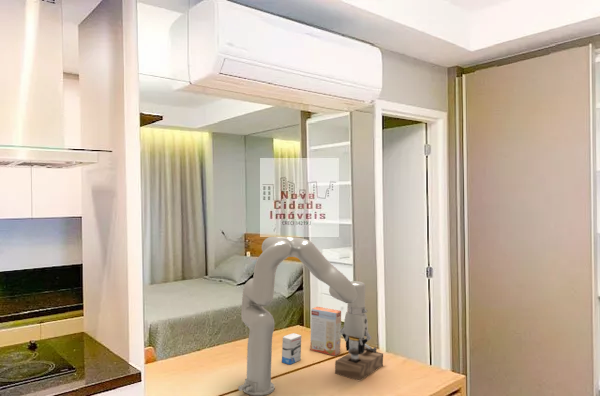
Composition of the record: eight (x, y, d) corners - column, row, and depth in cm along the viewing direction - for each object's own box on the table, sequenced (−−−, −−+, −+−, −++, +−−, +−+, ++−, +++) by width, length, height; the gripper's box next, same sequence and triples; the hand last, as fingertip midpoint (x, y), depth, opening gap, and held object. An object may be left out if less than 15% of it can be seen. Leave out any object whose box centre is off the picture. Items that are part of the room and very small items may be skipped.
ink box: (289, 365, 206) (290, 339, 206) (281, 362, 209) (282, 336, 209) (301, 360, 213) (301, 334, 212) (292, 357, 216) (293, 332, 215)
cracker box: (340, 352, 224) (342, 310, 223) (334, 356, 218) (336, 312, 218) (315, 347, 231) (317, 305, 231) (309, 350, 226) (311, 308, 226)
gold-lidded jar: (363, 363, 200) (364, 337, 200) (357, 367, 195) (357, 340, 195) (352, 360, 203) (352, 334, 203) (345, 364, 199) (346, 337, 198)
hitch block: (359, 380, 191) (360, 363, 191) (335, 373, 198) (335, 356, 198) (382, 365, 209) (383, 349, 209) (359, 359, 216) (360, 343, 216)
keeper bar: (365, 346, 204) (366, 343, 204) (358, 344, 206) (359, 342, 206) (373, 352, 210) (374, 349, 211) (367, 350, 212) (367, 347, 213)
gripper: (377, 312, 197) (376, 353, 197) (343, 305, 207) (342, 345, 207) (369, 315, 191) (368, 358, 191) (334, 308, 201) (333, 349, 201)
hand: (354, 351), depth 199 cm, fingers closed on gold-lidded jar, 5 cm apart
